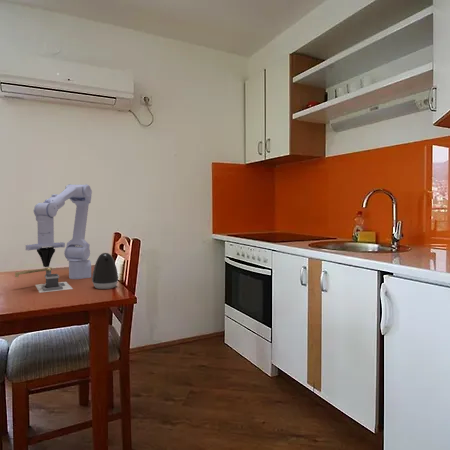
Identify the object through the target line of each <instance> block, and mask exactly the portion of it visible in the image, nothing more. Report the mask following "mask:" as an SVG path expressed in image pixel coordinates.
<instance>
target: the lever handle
mask: <svg viewBox="0 0 450 450" xmlns="http://www.w3.org/2000/svg"><path fill="white" fill-rule="evenodd" d="M47 270H51V271H52V270H53V267H43V268H36V269H31V270H23V271H15V272H14V277H15V278H19V275H26V274H31V273H40V272H46V271H47Z"/></svg>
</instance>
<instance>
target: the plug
mask: <svg viewBox="0 0 450 450" xmlns="http://www.w3.org/2000/svg"><path fill="white" fill-rule="evenodd" d="M44 278H45V284H46V288H52V287H58V282H59V278H60V275H59V274H58V273H51V274H47V275H46V274H45V275H44Z"/></svg>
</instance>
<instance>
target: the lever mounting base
mask: <svg viewBox="0 0 450 450" xmlns="http://www.w3.org/2000/svg"><path fill="white" fill-rule="evenodd" d="M47 274H52V270H47V271H45V275H47ZM58 283H64V284H65V286H62V285H61V284H58V287H52V288H46V283H40V284H35V287H36V289H37V291H38V293H39V294H40V293H48V292H57V291H66V290H73V289H74V288H73V287H72V286H71V285H70V284H69V282H67V281H60V282H59V281H58Z"/></svg>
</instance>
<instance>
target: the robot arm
mask: <svg viewBox="0 0 450 450" xmlns="http://www.w3.org/2000/svg"><path fill="white" fill-rule="evenodd" d="M92 194H93V191H92V188H91V186H90V184H87V183H85V184H71V183H70V184H67V185H65V188H64V190H63V191H61V192H60V193H59V194H58V193H53V194H51V196H50V197H48V198H47V199H45V200H44V201H43V202H38V203H37V204H35V206H34V209H33V213H34V216H35V221H36V223H37V225H36V226H37V243H33V244H25V251H36V252H37V254H38V255H39V258H40V259H41V260H40V261H41V262H42V266H43V268H50V263H51V261H52V258H53V255H54V253H55V252H56V248H59V249H60V248H65V249H64V252H63V255H64V257H65V259H66V260H67V261H68V278H69V279H70V280H81V279H89V278H92V261H91V260H90V259H89V258H90V255H91V250H90V243H89V242H88V241H86V239H85V238H86V231H87V230H86V229H87V222H88V214H89V213H88V212H89V205H90V204H91V201H92ZM68 200H70V202H72V203H73V204H75V206H76V209H75V216H74V224H73V231H72V238H71V240H68V242H67V243H66V242H64V241H63V242H61V241H60V242H55V231H54V229H55V227H54V221H55V220H54V217H56V215H57V213H58V211H59V210H60V209H61V208H62V207H64V206H65V204H66V203H65V202H66V201H68Z"/></svg>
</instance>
